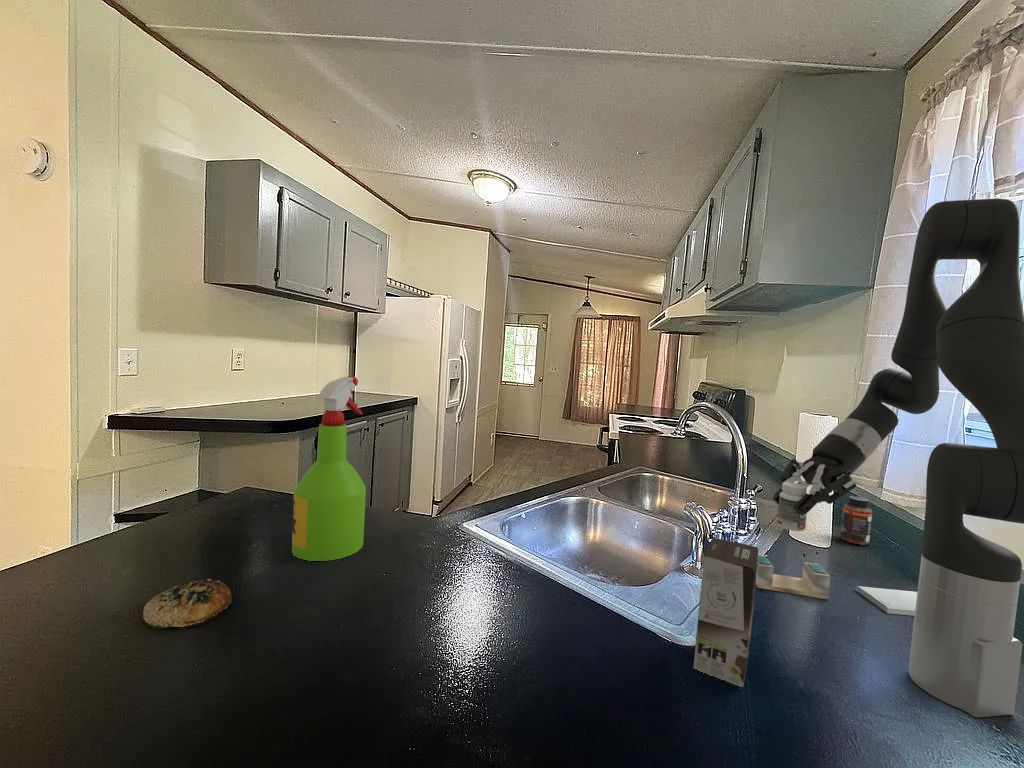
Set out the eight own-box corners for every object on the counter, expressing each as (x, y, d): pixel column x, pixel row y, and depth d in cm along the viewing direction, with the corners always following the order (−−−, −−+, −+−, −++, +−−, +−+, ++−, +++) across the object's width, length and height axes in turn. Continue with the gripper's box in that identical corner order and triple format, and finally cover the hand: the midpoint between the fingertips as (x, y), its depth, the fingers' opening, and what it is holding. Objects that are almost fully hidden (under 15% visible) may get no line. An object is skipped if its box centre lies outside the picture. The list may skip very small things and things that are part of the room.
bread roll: (236, 586, 75) (235, 559, 74) (226, 633, 65) (225, 602, 64) (154, 599, 71) (151, 571, 70) (129, 652, 61) (126, 619, 60)
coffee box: (744, 691, 58) (756, 569, 57) (691, 670, 61) (702, 554, 61) (750, 654, 66) (760, 546, 65) (703, 637, 69) (712, 534, 68)
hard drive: (887, 607, 80) (961, 613, 79) (855, 584, 88) (922, 590, 88) (886, 616, 80) (960, 623, 79) (854, 593, 88) (921, 598, 88)
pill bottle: (804, 534, 84) (808, 490, 84) (775, 527, 87) (779, 484, 86) (806, 527, 88) (810, 485, 87) (778, 520, 91) (781, 480, 90)
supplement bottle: (875, 547, 112) (880, 502, 112) (851, 545, 112) (855, 501, 112) (857, 537, 118) (861, 495, 118) (834, 536, 118) (838, 494, 118)
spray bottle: (383, 531, 102) (390, 377, 101) (342, 566, 85) (351, 380, 83) (327, 524, 104) (333, 373, 103) (276, 557, 86) (283, 375, 85)
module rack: (815, 584, 89) (817, 562, 89) (828, 599, 84) (831, 576, 83) (749, 573, 92) (751, 552, 92) (757, 587, 87) (759, 564, 86)
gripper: (806, 427, 95) (750, 482, 93) (871, 439, 81) (806, 505, 79) (825, 452, 96) (770, 508, 95) (892, 469, 82) (829, 534, 80)
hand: (787, 506), depth 87 cm, fingers closed on pill bottle, 4 cm apart
